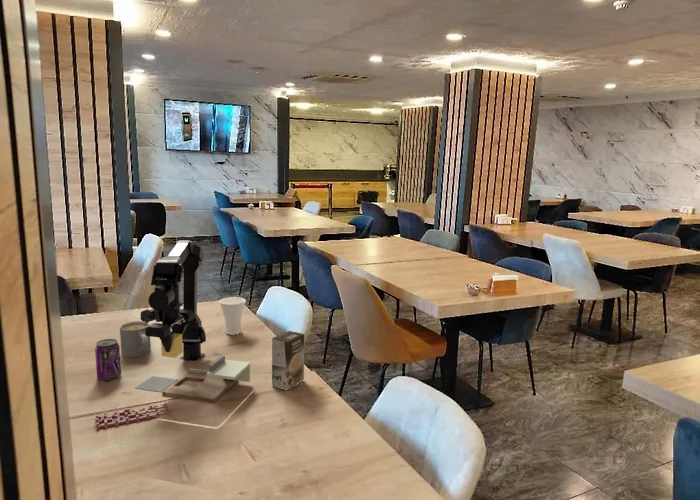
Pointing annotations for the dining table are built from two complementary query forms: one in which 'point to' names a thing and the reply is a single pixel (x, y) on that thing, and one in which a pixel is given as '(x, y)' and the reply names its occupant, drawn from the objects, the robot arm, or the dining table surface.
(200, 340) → the robot arm
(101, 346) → the beverage can
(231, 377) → the lid
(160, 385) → the coaster
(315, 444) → the dining table surface
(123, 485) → the dining table surface
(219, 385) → the board
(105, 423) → the chocolate bar
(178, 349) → the block
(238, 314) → the cup
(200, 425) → the dining table surface
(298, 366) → the food box
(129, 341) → the coffee mug
